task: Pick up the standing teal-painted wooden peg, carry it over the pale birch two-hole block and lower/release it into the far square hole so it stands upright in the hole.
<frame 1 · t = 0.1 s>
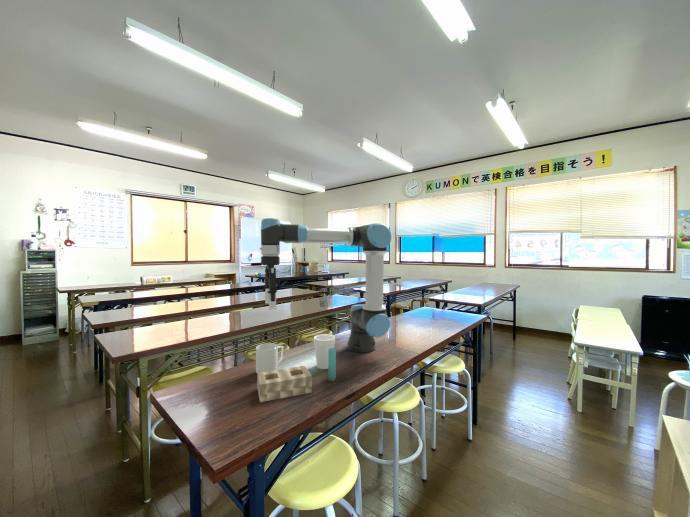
hand: (270, 306, 118), 28 cm above the table, fingers open, 13 cm apart
hole block: (284, 390, 103), on the table
foam cup: (324, 366, 125), on the table
peg: (332, 378, 113), on the table
mug: (270, 372, 119), on the table
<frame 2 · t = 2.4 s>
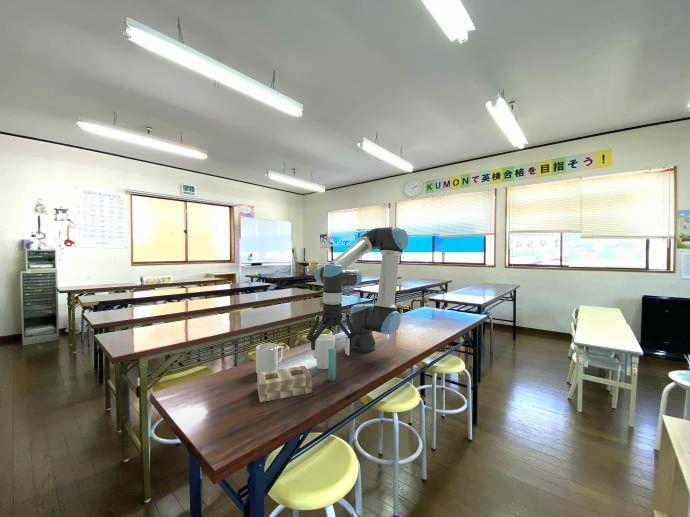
hand: (331, 355, 112), 9 cm above the table, fingers open, 13 cm apart
nothing on the table moved.
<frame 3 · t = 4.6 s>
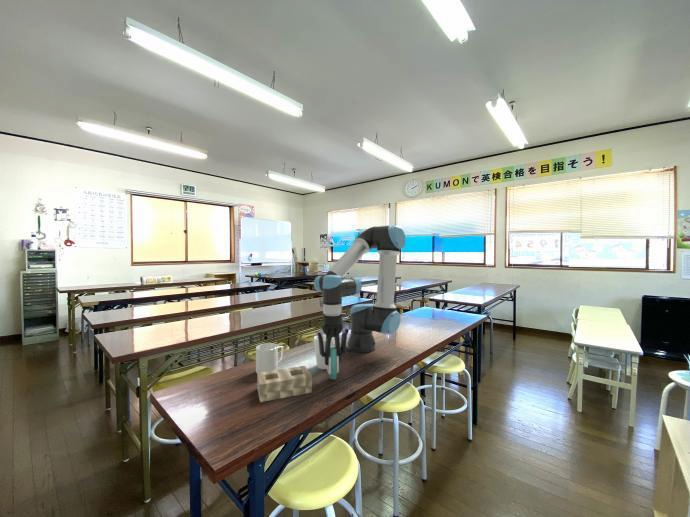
hand: (332, 371, 113), 3 cm above the table, fingers closed on peg, 3 cm apart
peg: (332, 377, 113), on the table, touching gripper
everything else where it was.
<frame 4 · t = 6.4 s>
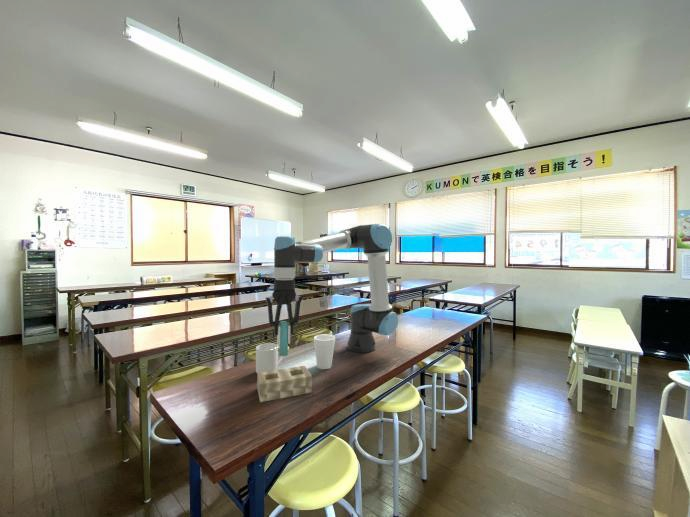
hand: (283, 343, 103), 18 cm above the table, fingers closed on peg, 3 cm apart
peg: (283, 354, 103), point 13 cm above the table, touching gripper
everything else where it was.
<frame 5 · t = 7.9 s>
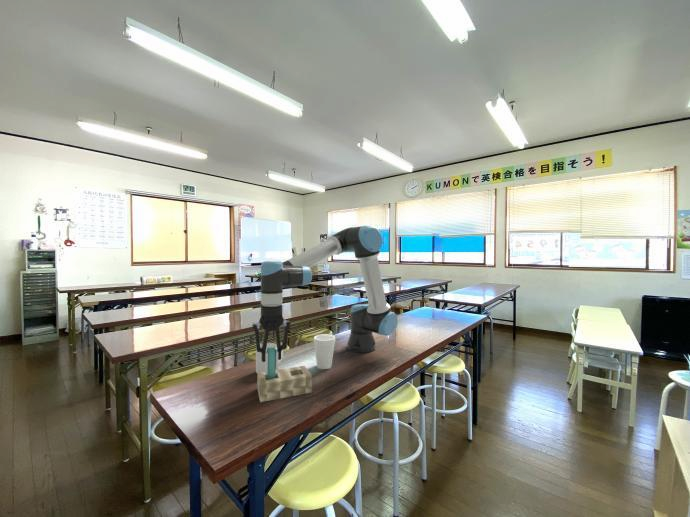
hand: (271, 369, 101), 9 cm above the table, fingers closed on peg, 3 cm apart
peg: (271, 381, 101), point 4 cm above the table, touching gripper
everything else where it was.
when the fingers open (7 cm above the table, at t = 8.7 s): peg drops 3 cm, on the table.
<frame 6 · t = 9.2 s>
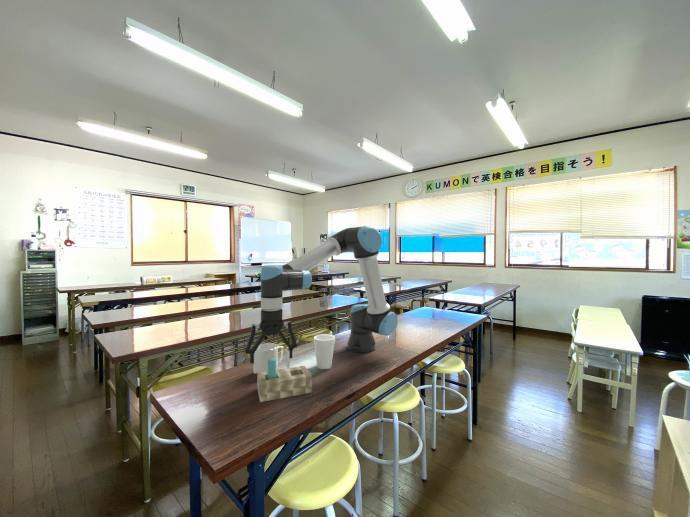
hand: (271, 369, 101), 8 cm above the table, fingers open, 11 cm apart
peg: (271, 392, 101), on the table
everything else where it was.
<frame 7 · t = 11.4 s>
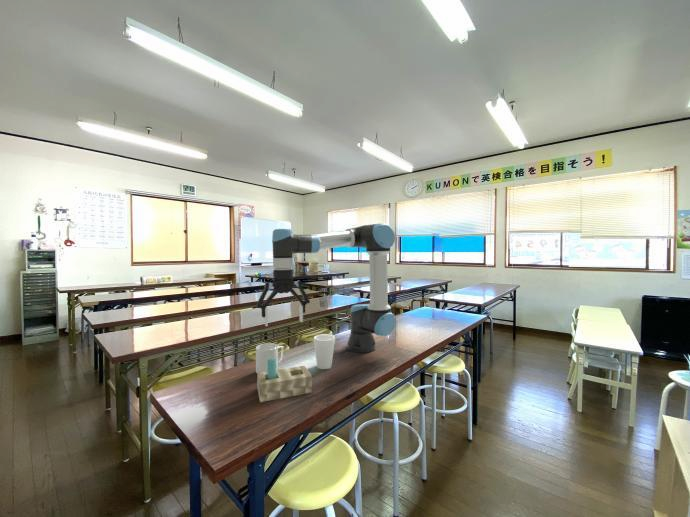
hand: (284, 323, 110), 23 cm above the table, fingers open, 13 cm apart
nothing on the table moved.
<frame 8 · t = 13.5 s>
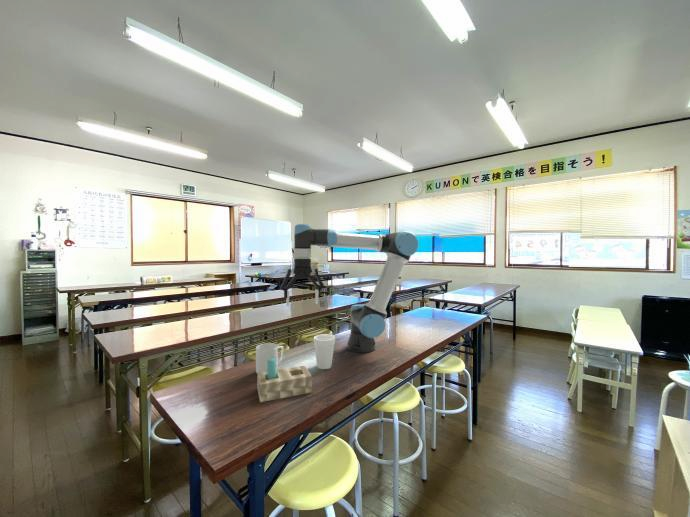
hand: (302, 304, 129), 27 cm above the table, fingers open, 13 cm apart
nothing on the table moved.
at the end: peg 0.1 cm from the target spot on the hole block, point 0.0 cm above the hole block's base; peg tilted 0°; the gripper is holding nothing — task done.
